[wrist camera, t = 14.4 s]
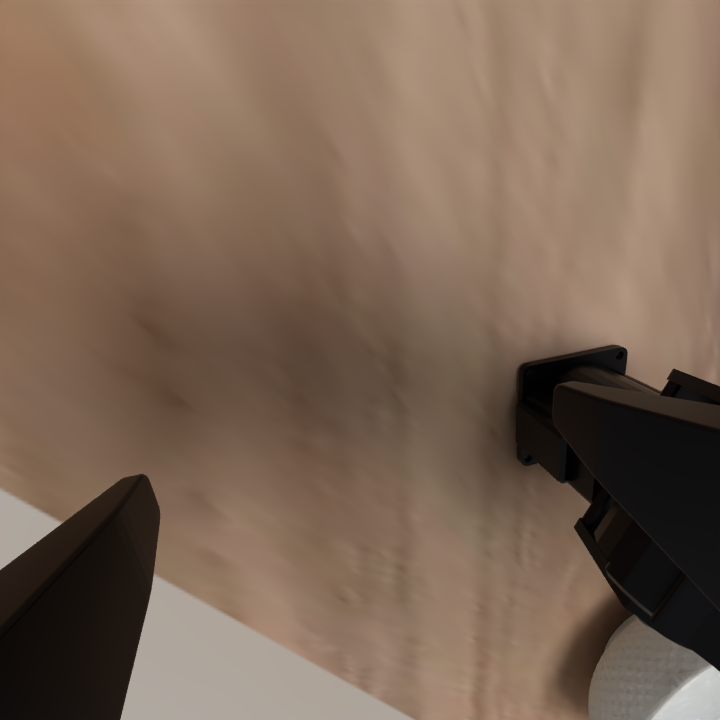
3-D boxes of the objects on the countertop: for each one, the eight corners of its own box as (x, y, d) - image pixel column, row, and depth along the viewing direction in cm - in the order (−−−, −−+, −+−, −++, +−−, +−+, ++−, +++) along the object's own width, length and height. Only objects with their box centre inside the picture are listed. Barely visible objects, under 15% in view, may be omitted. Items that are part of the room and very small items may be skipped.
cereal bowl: (737, 647, 39) (831, 735, 33) (578, 735, 39) (642, 842, 32) (725, 521, 32) (840, 601, 26) (533, 625, 32) (602, 733, 25)
